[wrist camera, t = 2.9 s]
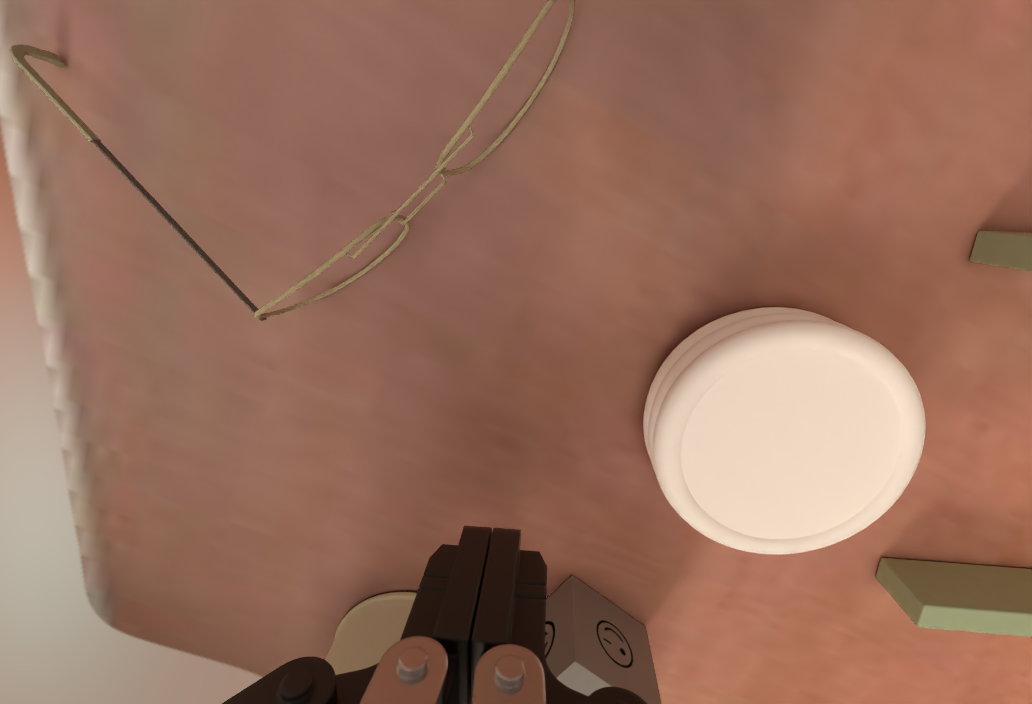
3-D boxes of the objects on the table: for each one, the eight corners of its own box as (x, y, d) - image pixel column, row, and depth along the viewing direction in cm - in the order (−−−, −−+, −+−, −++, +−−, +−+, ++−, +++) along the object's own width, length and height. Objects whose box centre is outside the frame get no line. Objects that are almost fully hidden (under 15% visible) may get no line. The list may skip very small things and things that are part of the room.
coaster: (911, 324, 20) (981, 349, 17) (830, 526, 23) (875, 581, 20) (670, 286, 21) (691, 303, 17) (620, 490, 24) (630, 537, 20)
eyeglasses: (324, 326, 23) (262, 360, 18) (53, 57, 20) (-104, 13, 15) (597, 51, 18) (611, -1, 14) (299, -329, 16) (189, -553, 11)
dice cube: (645, 626, 26) (665, 723, 21) (584, 679, 27) (589, 780, 23) (572, 574, 25) (575, 661, 21) (513, 631, 27) (503, 724, 22)
